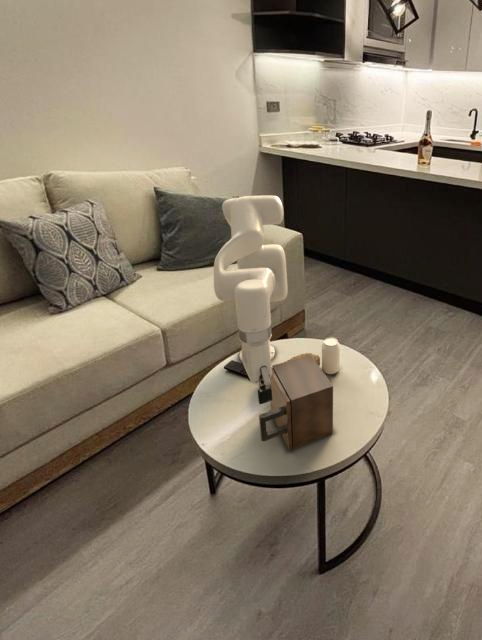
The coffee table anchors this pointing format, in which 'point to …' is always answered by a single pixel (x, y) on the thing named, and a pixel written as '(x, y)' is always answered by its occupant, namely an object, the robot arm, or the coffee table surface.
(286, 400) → the door
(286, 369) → the cupboard
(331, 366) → the beverage can
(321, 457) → the coffee table surface
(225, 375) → the coffee table surface
